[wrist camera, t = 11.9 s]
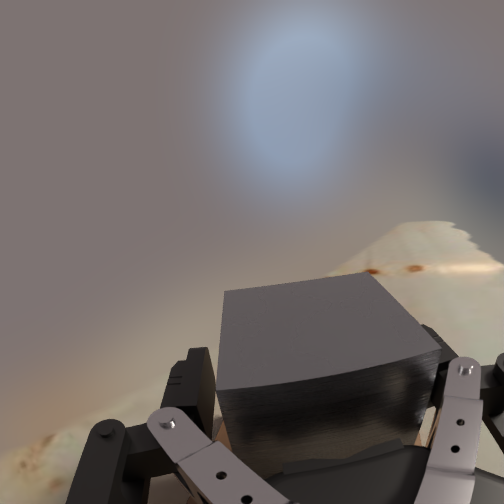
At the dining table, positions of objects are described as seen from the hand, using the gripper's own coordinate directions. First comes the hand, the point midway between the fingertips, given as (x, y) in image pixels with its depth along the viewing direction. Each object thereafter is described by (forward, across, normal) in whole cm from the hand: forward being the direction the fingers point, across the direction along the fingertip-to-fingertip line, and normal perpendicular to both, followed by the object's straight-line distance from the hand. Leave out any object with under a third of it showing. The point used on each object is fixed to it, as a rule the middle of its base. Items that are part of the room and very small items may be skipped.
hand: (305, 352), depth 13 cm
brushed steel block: (-2, 0, +7) cm, 7 cm away
